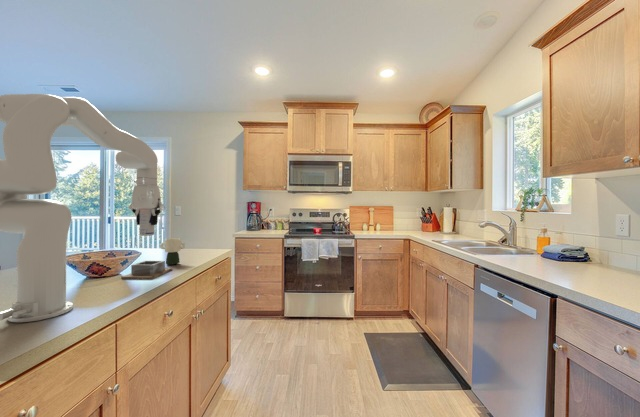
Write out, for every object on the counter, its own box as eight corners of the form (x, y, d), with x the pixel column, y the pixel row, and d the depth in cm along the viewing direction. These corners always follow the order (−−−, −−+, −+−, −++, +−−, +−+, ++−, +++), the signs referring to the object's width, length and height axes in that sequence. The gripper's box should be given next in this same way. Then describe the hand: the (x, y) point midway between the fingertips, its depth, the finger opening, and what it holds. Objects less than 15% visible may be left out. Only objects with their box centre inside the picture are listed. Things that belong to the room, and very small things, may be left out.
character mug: (186, 262, 142) (186, 238, 142) (182, 265, 135) (182, 239, 135) (163, 263, 140) (163, 238, 140) (158, 266, 133) (158, 240, 133)
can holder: (151, 279, 110) (151, 267, 110) (121, 279, 110) (121, 266, 109) (172, 270, 126) (172, 259, 126) (146, 269, 125) (146, 259, 125)
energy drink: (157, 234, 119) (157, 207, 118) (148, 236, 113) (148, 207, 113) (145, 234, 119) (145, 207, 119) (136, 235, 114) (136, 207, 114)
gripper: (120, 181, 112) (120, 225, 112) (162, 182, 112) (162, 225, 113) (132, 183, 119) (132, 223, 120) (171, 183, 120) (171, 224, 120)
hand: (147, 224), depth 116 cm, fingers closed on energy drink, 5 cm apart
